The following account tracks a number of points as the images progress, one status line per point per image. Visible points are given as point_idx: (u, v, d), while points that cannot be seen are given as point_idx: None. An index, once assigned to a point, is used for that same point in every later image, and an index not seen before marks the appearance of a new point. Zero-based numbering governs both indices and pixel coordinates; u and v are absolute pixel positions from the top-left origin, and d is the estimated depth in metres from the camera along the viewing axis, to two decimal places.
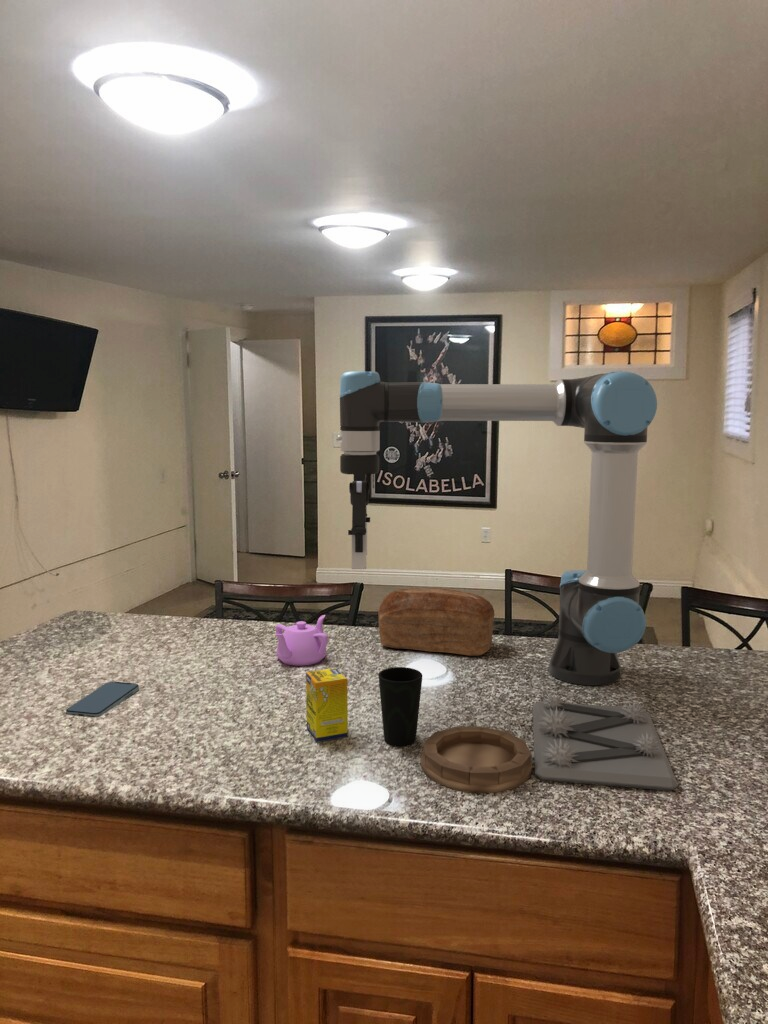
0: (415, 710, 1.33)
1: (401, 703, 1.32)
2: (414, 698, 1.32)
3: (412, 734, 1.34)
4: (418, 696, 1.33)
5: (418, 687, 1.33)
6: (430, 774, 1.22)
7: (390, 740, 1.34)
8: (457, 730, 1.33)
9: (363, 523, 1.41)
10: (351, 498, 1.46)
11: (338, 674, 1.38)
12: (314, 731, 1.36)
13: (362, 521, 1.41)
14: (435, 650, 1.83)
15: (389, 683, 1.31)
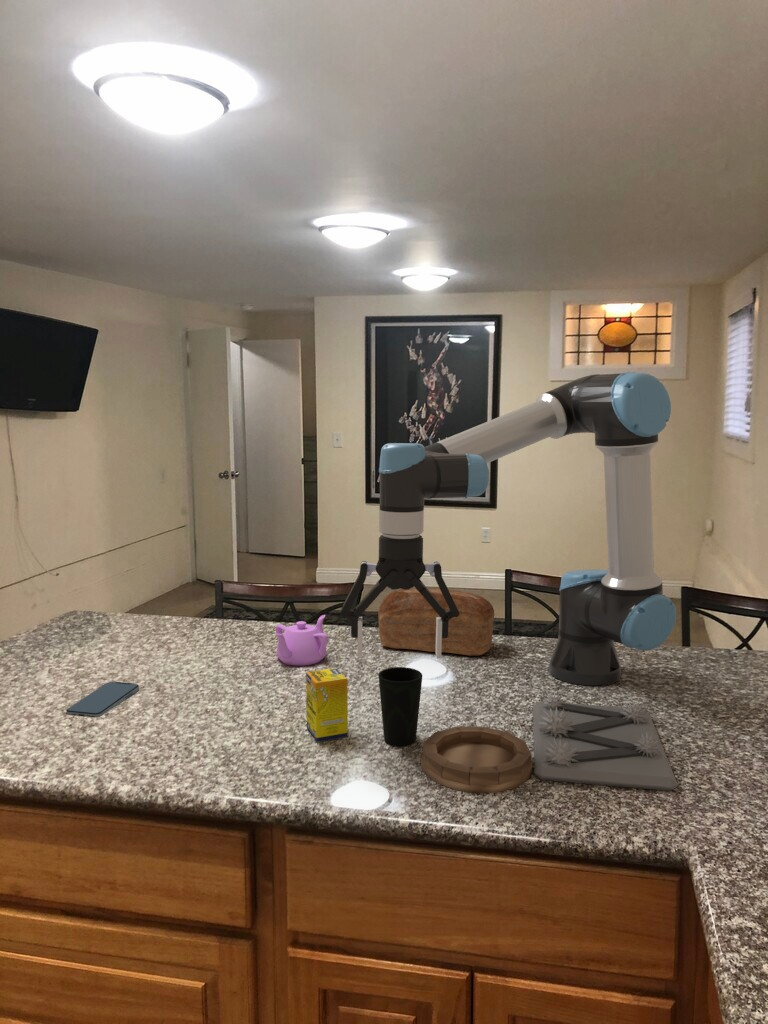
0: (415, 710, 1.33)
1: (401, 703, 1.32)
2: (414, 698, 1.32)
3: (412, 734, 1.34)
4: (418, 696, 1.33)
5: (418, 687, 1.33)
6: (430, 774, 1.22)
7: (390, 740, 1.34)
8: (457, 730, 1.33)
9: (343, 605, 1.32)
10: None
11: (338, 674, 1.38)
12: (314, 731, 1.36)
13: (344, 603, 1.32)
14: (435, 650, 1.83)
15: (389, 683, 1.31)
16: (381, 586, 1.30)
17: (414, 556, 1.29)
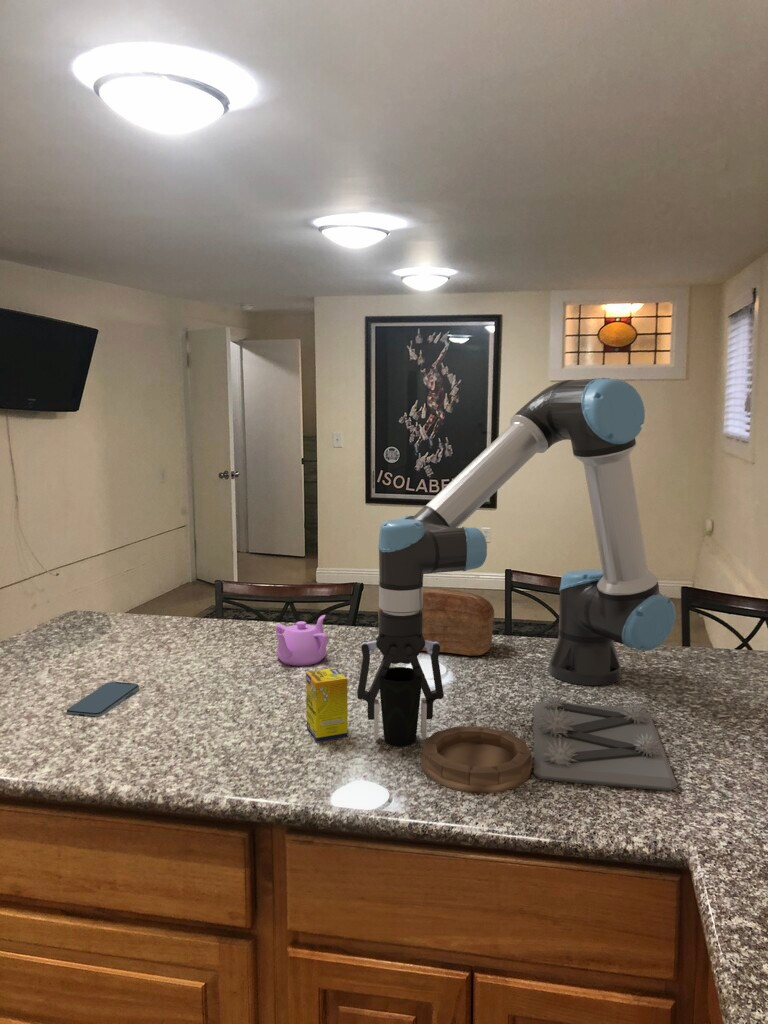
0: (415, 710, 1.33)
1: (401, 703, 1.32)
2: (414, 698, 1.32)
3: (412, 734, 1.34)
4: (418, 696, 1.33)
5: (418, 687, 1.33)
6: (430, 774, 1.22)
7: (390, 740, 1.34)
8: (457, 730, 1.33)
9: (358, 689, 1.34)
10: (383, 657, 1.35)
11: (338, 674, 1.38)
12: (314, 731, 1.36)
13: (358, 687, 1.34)
14: None
15: (389, 683, 1.31)
16: (386, 664, 1.32)
17: (414, 632, 1.30)
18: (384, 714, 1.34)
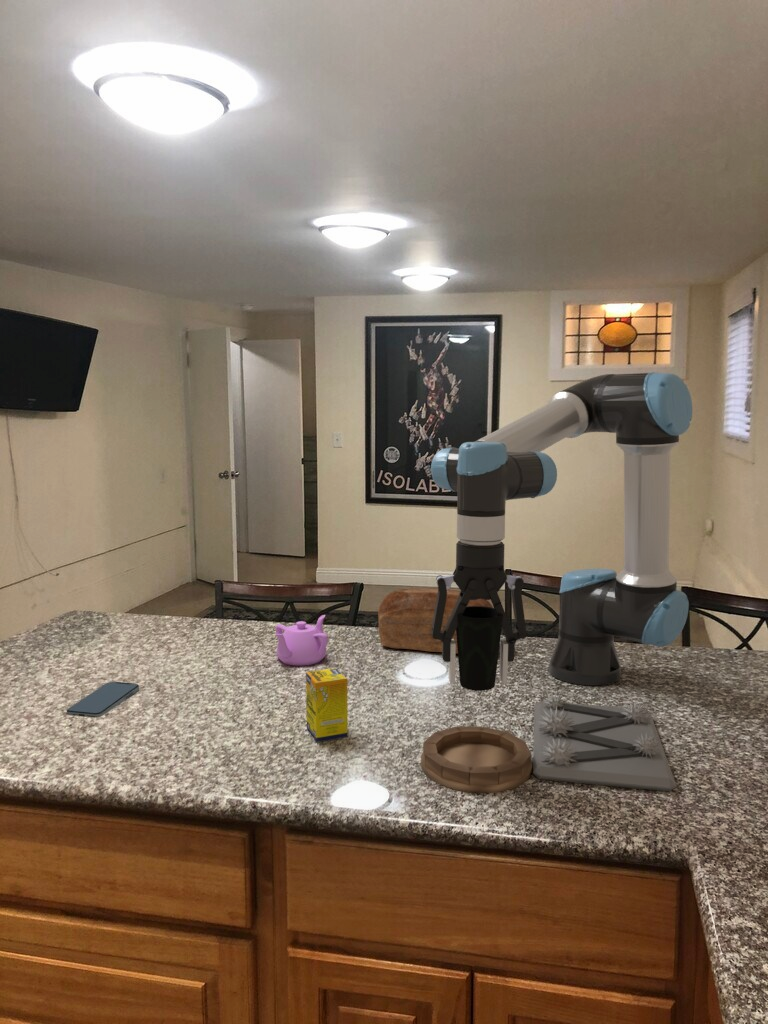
0: (496, 650, 1.22)
1: (482, 642, 1.20)
2: (495, 637, 1.21)
3: (492, 677, 1.22)
4: (499, 635, 1.22)
5: (499, 625, 1.21)
6: (430, 774, 1.22)
7: (468, 684, 1.22)
8: (457, 730, 1.33)
9: (433, 628, 1.22)
10: (459, 594, 1.24)
11: (338, 674, 1.38)
12: (314, 731, 1.36)
13: (433, 625, 1.22)
14: (435, 650, 1.83)
15: (469, 620, 1.20)
16: (465, 599, 1.21)
17: (496, 564, 1.19)
18: (462, 655, 1.22)
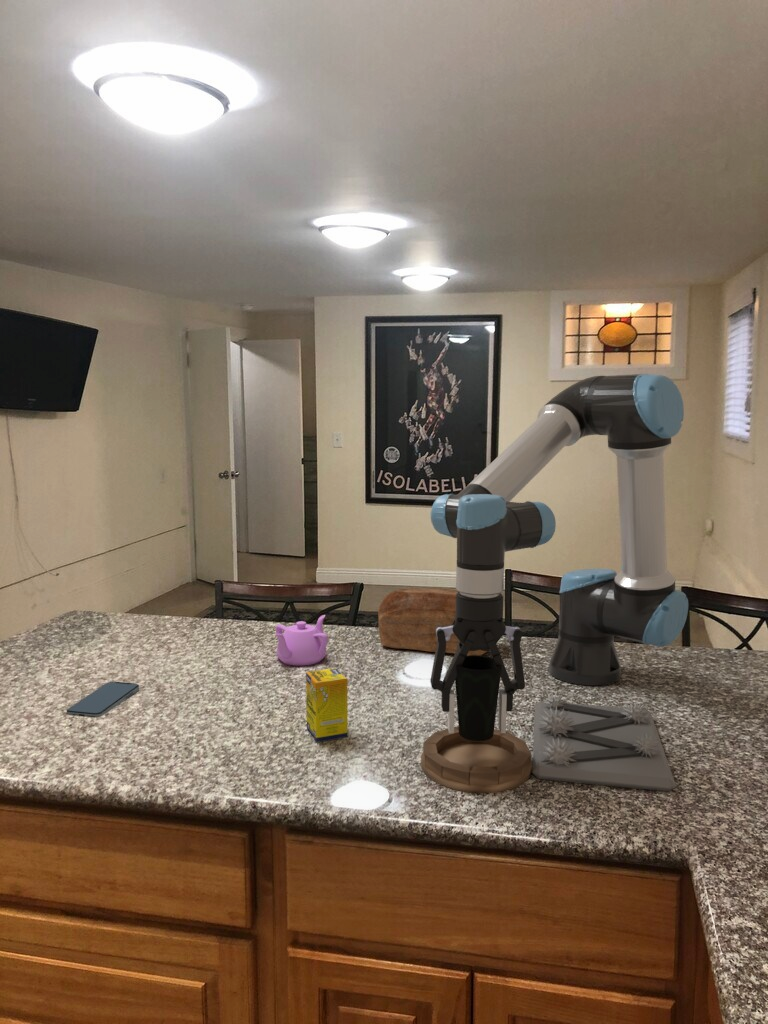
0: (495, 701, 1.23)
1: (480, 693, 1.21)
2: (494, 688, 1.22)
3: (491, 727, 1.23)
4: (498, 686, 1.23)
5: (498, 676, 1.22)
6: (430, 774, 1.22)
7: (467, 734, 1.23)
8: (457, 730, 1.33)
9: (432, 678, 1.23)
10: (458, 644, 1.25)
11: (338, 674, 1.38)
12: (314, 731, 1.36)
13: (432, 676, 1.23)
14: (435, 650, 1.83)
15: (468, 671, 1.21)
16: (464, 651, 1.22)
17: (495, 616, 1.20)
18: (461, 706, 1.23)
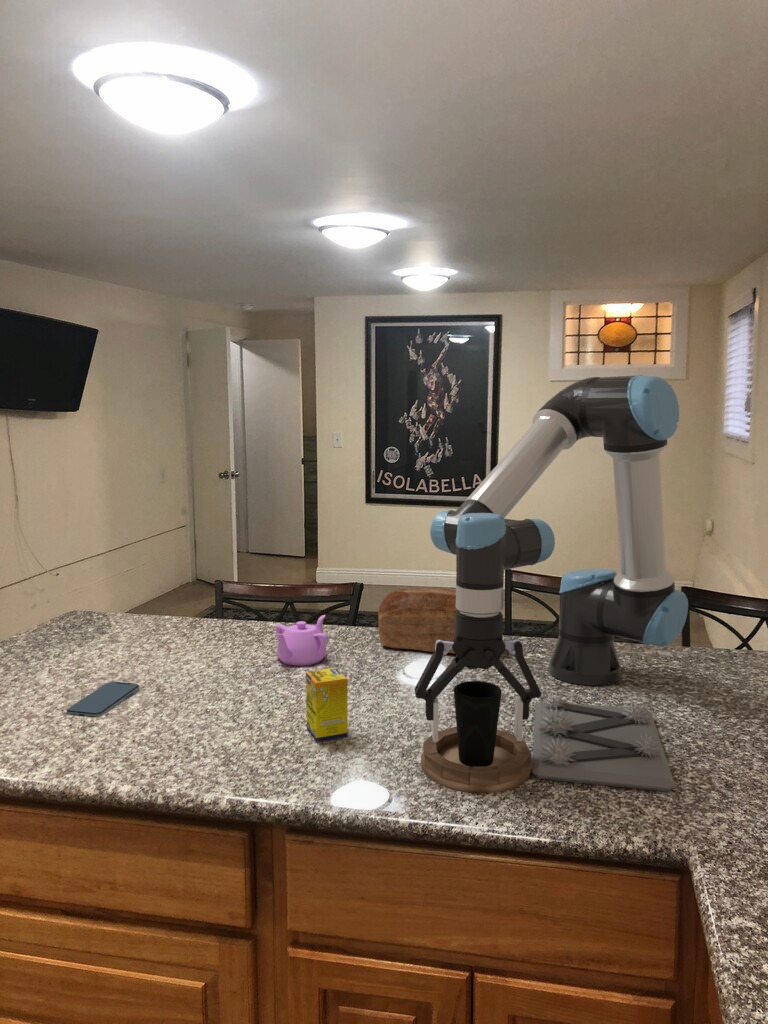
0: (494, 728, 1.23)
1: (480, 721, 1.22)
2: (494, 715, 1.23)
3: (490, 754, 1.24)
4: (497, 713, 1.24)
5: (498, 703, 1.23)
6: (430, 774, 1.22)
7: (467, 760, 1.24)
8: None
9: (418, 687, 1.24)
10: (454, 658, 1.25)
11: (338, 674, 1.38)
12: (314, 731, 1.36)
13: (419, 684, 1.24)
14: None
15: (467, 699, 1.22)
16: (459, 666, 1.22)
17: (495, 635, 1.20)
18: (460, 732, 1.24)
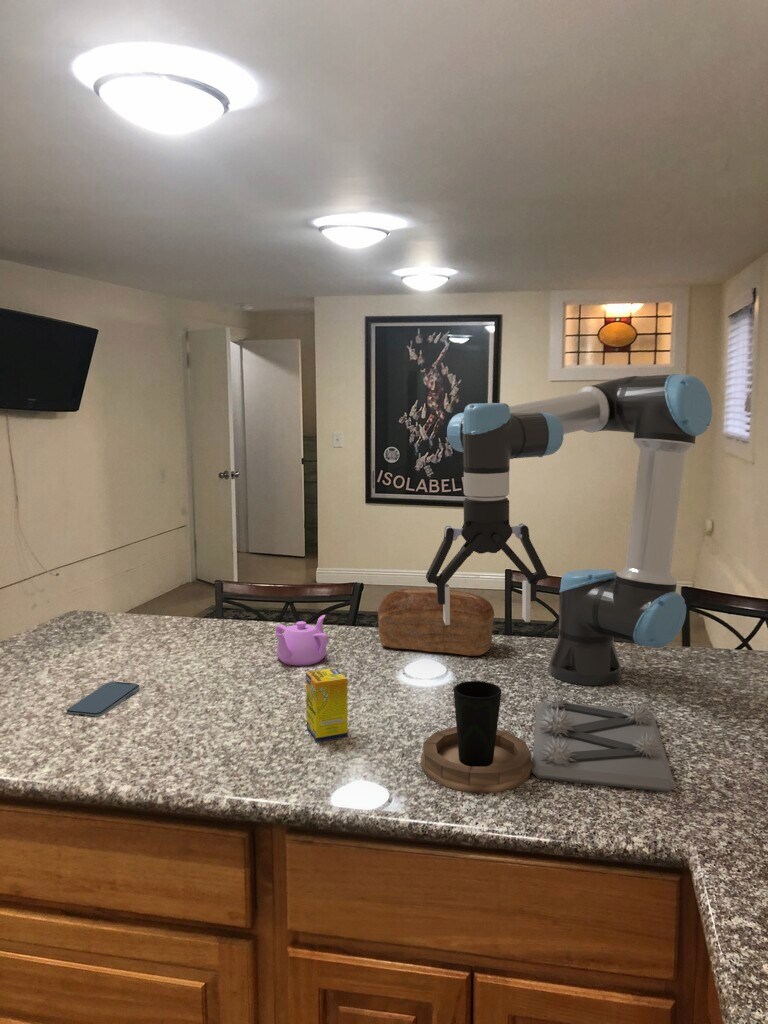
0: (494, 728, 1.23)
1: (480, 721, 1.22)
2: (494, 715, 1.23)
3: (490, 754, 1.24)
4: (497, 713, 1.24)
5: (498, 703, 1.23)
6: (430, 774, 1.22)
7: (467, 760, 1.24)
8: None
9: (430, 572, 1.29)
10: (463, 545, 1.31)
11: (338, 674, 1.38)
12: (314, 731, 1.36)
13: (430, 569, 1.29)
14: (435, 650, 1.83)
15: (467, 699, 1.22)
16: (468, 550, 1.28)
17: (502, 518, 1.26)
18: (460, 732, 1.24)
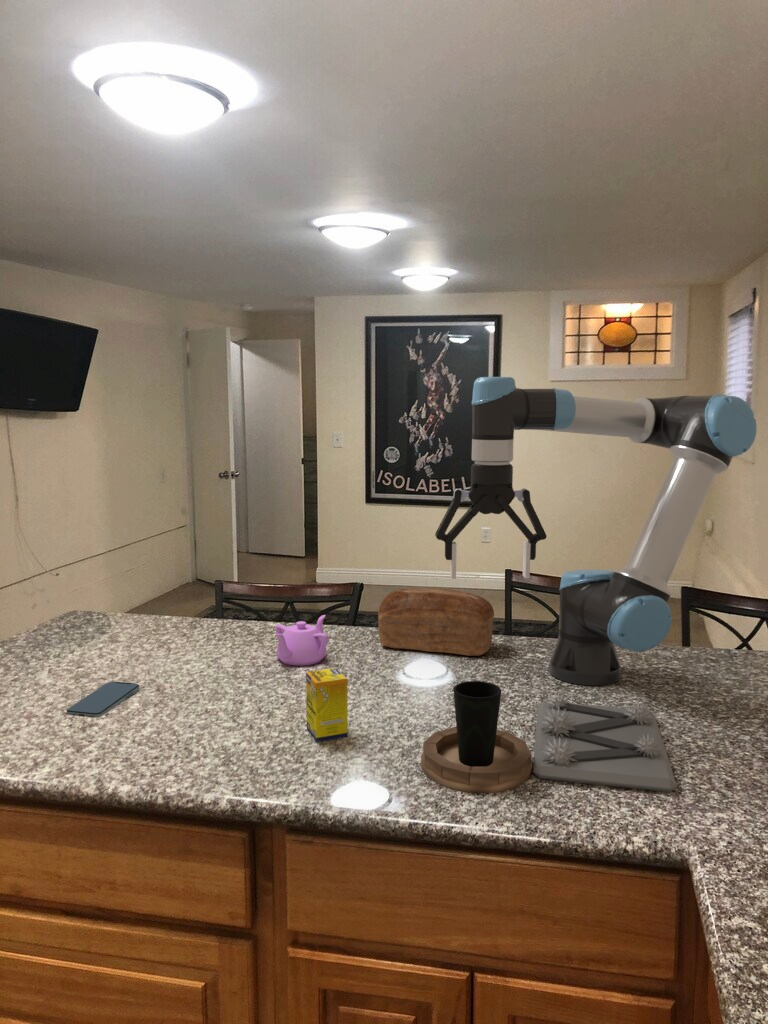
0: (494, 728, 1.23)
1: (480, 720, 1.22)
2: (493, 715, 1.23)
3: (490, 754, 1.24)
4: (497, 713, 1.24)
5: (498, 703, 1.23)
6: (430, 774, 1.22)
7: (467, 760, 1.24)
8: None
9: (439, 529, 1.41)
10: None
11: (338, 674, 1.38)
12: (314, 731, 1.36)
13: (439, 527, 1.42)
14: (434, 650, 1.83)
15: (467, 699, 1.22)
16: (474, 510, 1.40)
17: (506, 481, 1.38)
18: (460, 732, 1.24)
